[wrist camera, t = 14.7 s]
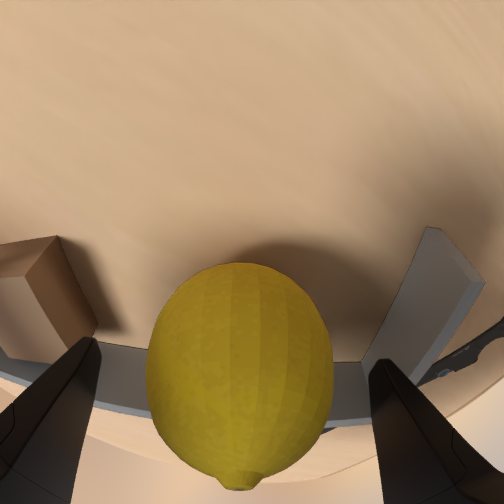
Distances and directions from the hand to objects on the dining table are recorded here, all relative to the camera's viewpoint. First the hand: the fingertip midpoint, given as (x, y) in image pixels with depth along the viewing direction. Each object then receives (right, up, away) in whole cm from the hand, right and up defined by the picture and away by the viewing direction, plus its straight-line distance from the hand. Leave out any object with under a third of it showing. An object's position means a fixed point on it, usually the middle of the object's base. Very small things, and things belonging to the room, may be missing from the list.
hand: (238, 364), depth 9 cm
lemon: (0, +2, +4) cm, 4 cm away
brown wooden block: (-10, +2, +4) cm, 11 cm away
